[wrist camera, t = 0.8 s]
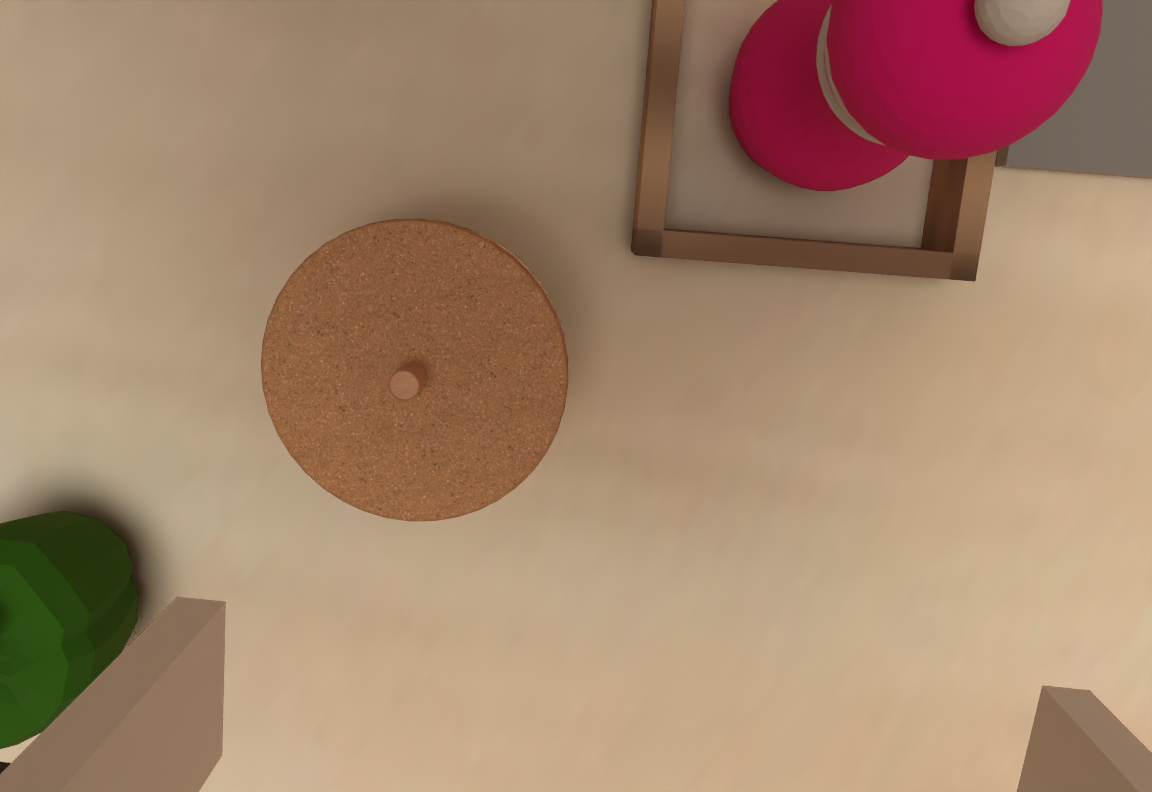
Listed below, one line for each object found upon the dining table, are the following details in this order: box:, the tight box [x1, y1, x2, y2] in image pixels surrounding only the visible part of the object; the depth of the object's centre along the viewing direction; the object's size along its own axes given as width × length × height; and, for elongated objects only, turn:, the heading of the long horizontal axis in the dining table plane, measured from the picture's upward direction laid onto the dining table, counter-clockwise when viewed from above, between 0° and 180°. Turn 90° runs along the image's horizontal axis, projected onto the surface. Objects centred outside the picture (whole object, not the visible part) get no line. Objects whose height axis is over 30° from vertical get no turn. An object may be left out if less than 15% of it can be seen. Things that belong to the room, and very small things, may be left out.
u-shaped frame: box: [631, 0, 997, 281], centre depth 36 cm, size 13×13×4 cm
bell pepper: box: [0, 511, 138, 749], centre depth 37 cm, size 8×8×10 cm
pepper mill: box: [729, 0, 1103, 191], centre depth 28 cm, size 7×7×20 cm
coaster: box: [995, 0, 1152, 178], centre depth 36 cm, size 10×10×1 cm
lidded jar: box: [261, 219, 568, 521], centre depth 35 cm, size 11×11×9 cm
